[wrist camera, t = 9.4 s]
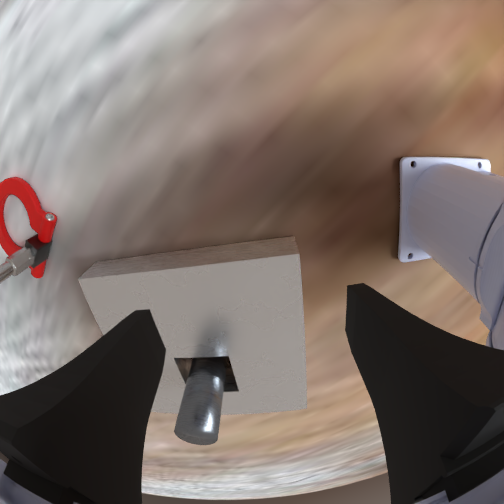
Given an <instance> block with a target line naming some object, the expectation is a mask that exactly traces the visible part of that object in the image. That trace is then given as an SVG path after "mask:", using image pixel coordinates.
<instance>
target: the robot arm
mask: <svg viewBox="0 0 504 504" xmlns="http://www.w3.org/2000/svg"><path fill="white" fill-rule="evenodd" d="M412 161H413V162H414V166H413V167H411V165H410V164H411V162H412ZM478 163H479V166H478ZM409 253H411V255H410V256H409V257H408V255H409ZM429 258H433V259H434V260H435V261H436V262H437V263H438V264H440V265H441V266H442V267H443V268H444V269H445V270H446V271H447V272H448V273H449V274H450V275H451V276H452V277H453V278H455V279H456V280H457V281H458V282H459V283H460V284H461V285H462V286H463V287H464V288H465V289H466V290H467V291H468V292H469V293H470V294H471V295H472V296H473V297H474V298H475V299H476V300H477V301H478V302H479V303H480V305H481V314H480V320H481V321H482V322H483V323H484V324H485V325H486V327H487V328H488V329H489V330H490V332H489V334H488V337H487V341H486V346H484V345H481V344H478V343H475V342H472V341H469V340H466V339H463V338H460V337H458V336H455V335H453V334H450V333H448V332H446V331H444V330H442V329H440V328H437V327H435V326H433V325H431V324H429V323H427V322H426V321H424V320H422V319H420V318H418V317H417V316H415V315H413V314H411V313H410V312H408V311H406V310H405V309H403V308H402V307H400V306H398V305H397V304H395V303H394V302H392V301H391V300H389V299H388V298H386V297H385V296H383V295H382V294H380V293H379V292H377V291H376V290H374V289H372V288H371V287H369V286H368V285H366V284H364V283H360V284H354V285H348V286H347V309H346V328H345V331H346V334H347V338H348V342H349V345H350V349H351V352H352V355H353V357H354V359H355V362H356V364H357V366H358V369H359V371H360V374H361V376H362V378H363V381H364V383H365V385H366V388H367V390H368V392H369V395H370V397H371V400H372V403H373V406H374V408H375V412H376V416H377V419H378V423H379V427H380V431H381V436H382V441H383V445H384V450H385V456H386V462H387V468H388V475H389V483H390V493H391V504H504V177H503V176H500V175H497V174H494V173H491V172H490V162H489V160H487V159H478V158H458V157H403V158H402V159H401V160H400V229H399V247H398V259H399V260H400V261H401V262H410V261H417V260H423V259H429ZM165 355H166V348H165V346H164V343H163V341H162V339H161V336H160V334H159V331H158V329H157V327H156V324H155V322H154V319H153V317H152V314H151V311H150V309H145V310H135V311H134V312H132V313H131V314H129V315H128V316H127V317H125V318H124V319H123V320H122V321H120V322H119V323H118V324H117V325H116V326H114V327H113V328H112V329H111V330H110V331H108V332H107V333H106V334H105V335H104V336H102V337H101V338H100V339H99V340H98V341H96V342H95V343H94V344H93V345H91V346H90V347H89V348H87V349H86V350H85V351H84V352H82V353H81V354H80V355H79V356H77V357H76V358H74V359H73V360H72V361H70V362H69V363H67V364H66V365H64V366H63V367H61V368H59V369H58V370H56V371H55V372H53V373H51V374H49V375H47V376H45V377H44V378H42V379H40V380H38V381H36V382H34V383H32V384H30V385H28V386H25V387H23V388H21V389H18V390H16V391H13V392H10V393H7V394H4V395H1V396H0V451H1V452H2V453H3V454H4V455H5V456H6V457H7V458H8V459H9V461H8V463H7V464H6V463H5V462H3V461H2V460H1V459H0V504H142V494H141V479H142V460H143V449H144V442H145V435H146V428H147V424H148V419H149V416H150V412H151V409H152V406H153V402H154V399H155V396H156V393H157V389H158V386H159V383H160V379H161V376H162V373H163V367H164V362H165Z"/></svg>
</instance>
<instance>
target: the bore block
mask: <svg viewBox="0 0 504 504" xmlns="http://www.w3.org/2000/svg"><path fill="white" fill-rule="evenodd" d="M78 281H79V284H80V286H81V288H82V291H83V293H84V295H85V298H86V300H87V302H88V305H89V307H90V309H91V311H92V313H93V315H94V318H95V320H96V322H97V324H98V326H99V328H100V330H101V332H102V334H103V336H104V335H105V334H106V333H107V332H108V331H110V330H111V329H112V328H113V327H114V326H116V325H117V324H118V323H119V322H120V321H122V320H123V319H124V318H125V317H127V316H128V315H129V314H131V313H132V312H134V311H135V310H145V309H150V311H151V314H152V317H153V319H154V322H155V324H156V327H157V329H158V331H159V334H160V336H161V339H162V341H163V343H164V346H165V348H166V355H165V362H164V367H163V373H162V376H161V379H160V383H159V386H158V389H157V393H156V396H155V399H154V402H153V406H152V409H151V412H160V413H175V414H178V413H179V409H180V405H181V401H182V397H183V393H184V390H185V386H186V382H187V378H188V374H189V370H190V367H191V363H192V360H191V358H195V357H220V356H229V359H230V362H231V366H232V368H227V370H226V377H225V385H224V393H223V400H222V408H221V415H228V414H254V413H269V412H281V411H291V410H300V409H307V384H306V353H305V330H304V311H303V295H302V280H301V267H300V255H299V251H298V247H297V244H296V241H295V238H294V236H290V237H281V238H273V239H265V240H257V241H249V242H241V243H233V244H226V245H218V246H210V247H202V248H195V249H187V250H180V251H172V252H165V253H157V254H150V255H143V256H135V257H128V258H121V259H114V260H107V261H99V262H95V263H94V264H93V265H92V266H91V267H90V268H89V269H88V270H87V271H86V272H85V273H84V274H83V275H82V276H81V277H80V278H79V279H78Z"/></svg>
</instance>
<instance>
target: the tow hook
mask: <svg viewBox="0 0 504 504" xmlns="http://www.w3.org/2000/svg"><path fill="white" fill-rule="evenodd" d="M10 194H13V195H15V196H17V197H18V198H19V199H20V200H21V201H22V203H23V204H24V206H25V208H26V210H27V213H28V216H29V220H30V225H31V227H32V229H33V230H35V231H36V232H37V233H38V234H37V235H35V236H33V237H32V238H30V239H28V240H26V243H25V247H23V248H21V247H19V246H17V245H16V244H15V243H14V242H13V241H12V239H11V238H10V236H9V234H8V232H7V230H6V227H5V223H4V217H3V210H4V204H5V201H6V199H7V197H8V196H9V195H10ZM56 221H57V217H56V215H54V214H53V213H50V212H45V211H43V210H42V208H41V205H40V202H39V200H38V198H37V196H36V194H35V192H34V190H33V189H32V188H31V186H30V185H29V184H28V183H27V182H26V181H24V180H23V179H21V178H18V177H12V178H8V179H5V180H4V181H2V182H1V183H0V244H1V246H2V248H3V249H4V251H5V252H6V254H7V255H8V256H9V257H7V258H6V262H5V263H3V264H2V265H0V283H2V282H3V281H5V280H6V279H7V278H9V277H10V276H11V275H13V276H16V275H18V274H19V273H21V272H22V271H24V270H25V269H26V268H28V267H29V268H31V274H32V275H33V276H34V277H35V278H41V277H42V276H43V274H44V269H45V264H46V260H47V258H48V255H49V251H50V247H51V243H52V235H53V232H54V228H55V224H56Z"/></svg>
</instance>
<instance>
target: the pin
mask: <svg viewBox="0 0 504 504" xmlns="http://www.w3.org/2000/svg"><path fill="white" fill-rule="evenodd" d="M227 362H228V356H220V357H195V358H193V359H192V363H191V367H190V370H189V374H188V378H187V382H186V386H185V390H184V393H183V397H182V401H181V405H180V409H179V413H178V417H177V421H176V426H175V430H174V432H175V434H176V436H178V437H179V438H180V439H182V440H184V441H186V442H189V443H192V444H197V445H209V444H213V443H215V442H216V441H217V439H218V432H219V424H220V416H221V408H222V400H223V393H224V385H225V377H226V370H227Z"/></svg>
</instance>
